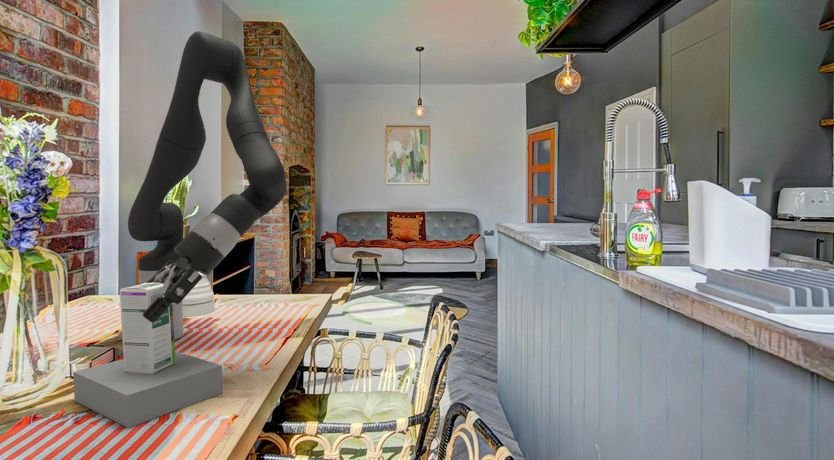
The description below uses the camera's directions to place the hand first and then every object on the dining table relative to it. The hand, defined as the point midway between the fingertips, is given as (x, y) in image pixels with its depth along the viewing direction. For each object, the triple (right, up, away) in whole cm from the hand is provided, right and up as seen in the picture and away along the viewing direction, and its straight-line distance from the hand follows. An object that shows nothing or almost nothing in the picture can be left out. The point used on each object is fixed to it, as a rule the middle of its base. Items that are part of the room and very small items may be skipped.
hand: (141, 314), depth 84 cm
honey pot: (-21, -11, +65) cm, 70 cm away
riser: (+1, -15, +1) cm, 15 cm away
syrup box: (+1, -10, +1) cm, 10 cm away
